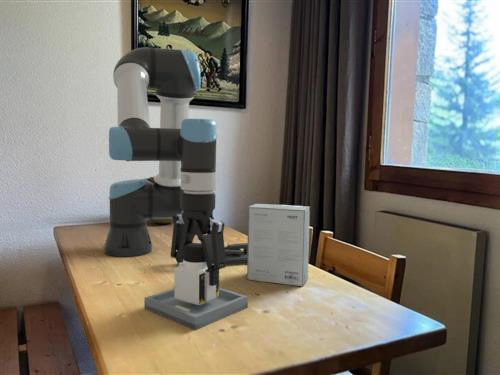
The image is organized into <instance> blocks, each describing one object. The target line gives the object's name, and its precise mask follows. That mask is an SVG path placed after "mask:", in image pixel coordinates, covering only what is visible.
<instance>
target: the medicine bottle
mask: <svg viewBox="0 0 500 375" xmlns="http://www.w3.org/2000/svg"><path fill="white" fill-rule="evenodd" d="M183 263H184V264H183V265H180V266H175V267H174V270H173V271H174V285H173V286H174V298H175V299H177V300H181V301H185V302H189V303H192V304H196V305H201V304H203V303H205V302H207V301H205V270H206V269H208V268H207V264H206V260H205V256H204V252H203V249H202V245H201V242H192V243H190V244H187V245H185V246H184V247H183ZM212 265H214V264H212ZM219 288H220V269H219V270H218V284H217V285H216V297H218V296H219Z"/></svg>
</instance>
